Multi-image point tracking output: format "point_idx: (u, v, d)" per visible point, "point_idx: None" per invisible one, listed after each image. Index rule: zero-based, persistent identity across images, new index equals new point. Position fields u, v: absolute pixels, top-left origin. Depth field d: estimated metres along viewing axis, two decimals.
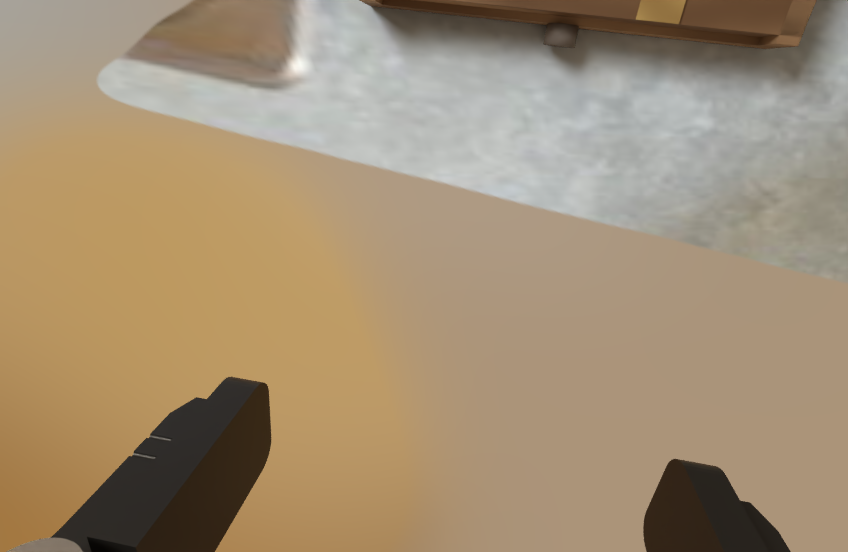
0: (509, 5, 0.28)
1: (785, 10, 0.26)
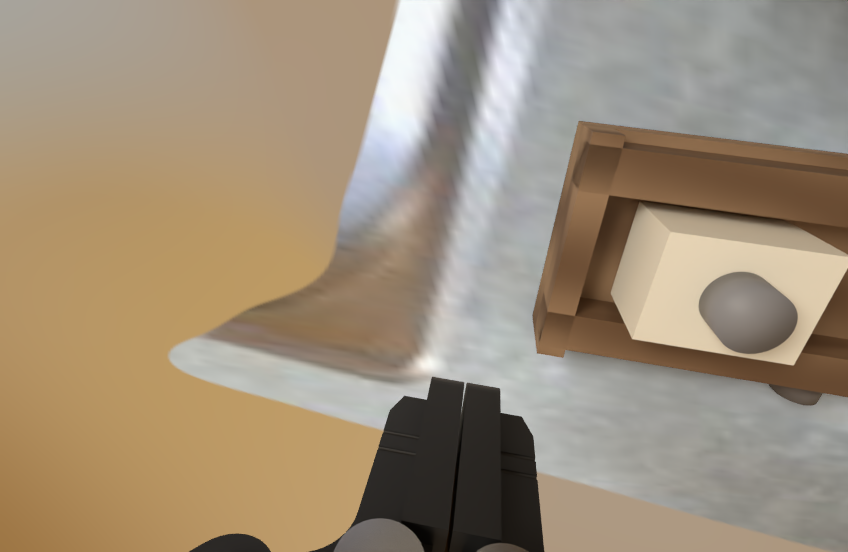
0: (753, 379, 0.20)
1: None
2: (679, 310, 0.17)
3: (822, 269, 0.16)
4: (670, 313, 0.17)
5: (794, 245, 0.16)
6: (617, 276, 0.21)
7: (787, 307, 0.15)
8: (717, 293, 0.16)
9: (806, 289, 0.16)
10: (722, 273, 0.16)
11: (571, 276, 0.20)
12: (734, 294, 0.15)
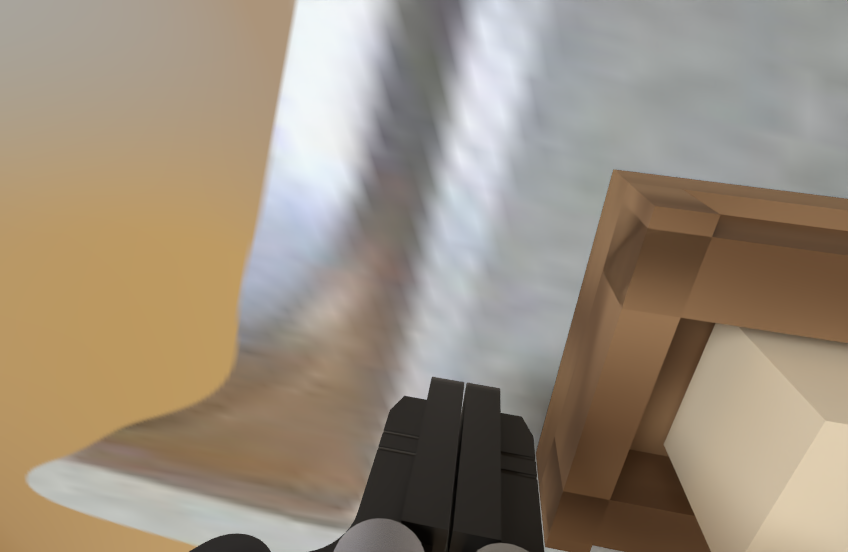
0: None
1: None
2: (824, 549, 0.09)
3: None
4: None
5: None
6: (677, 423, 0.13)
7: None
8: None
9: None
10: None
11: (605, 442, 0.11)
12: None
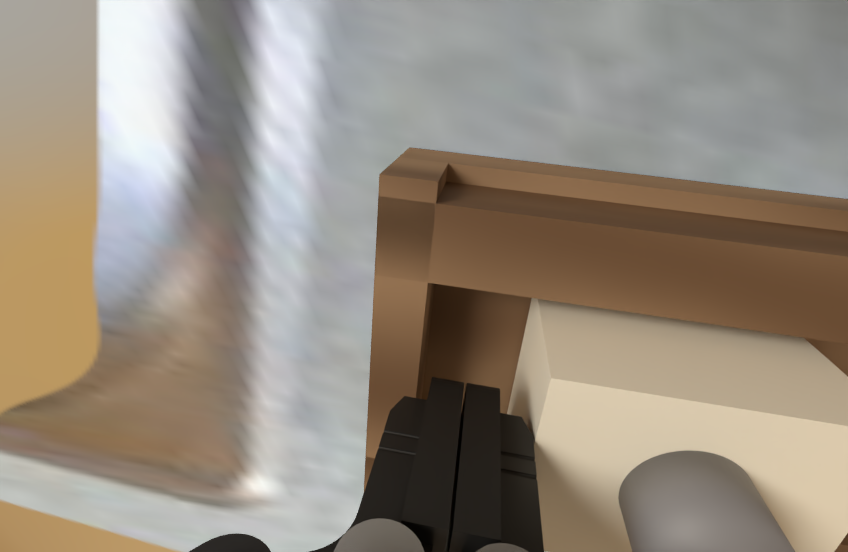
0: None
1: None
2: (585, 506, 0.09)
3: None
4: (568, 509, 0.09)
5: (795, 400, 0.08)
6: (511, 397, 0.13)
7: None
8: (645, 500, 0.08)
9: (821, 485, 0.08)
10: (657, 451, 0.09)
11: (391, 407, 0.12)
12: (673, 520, 0.07)
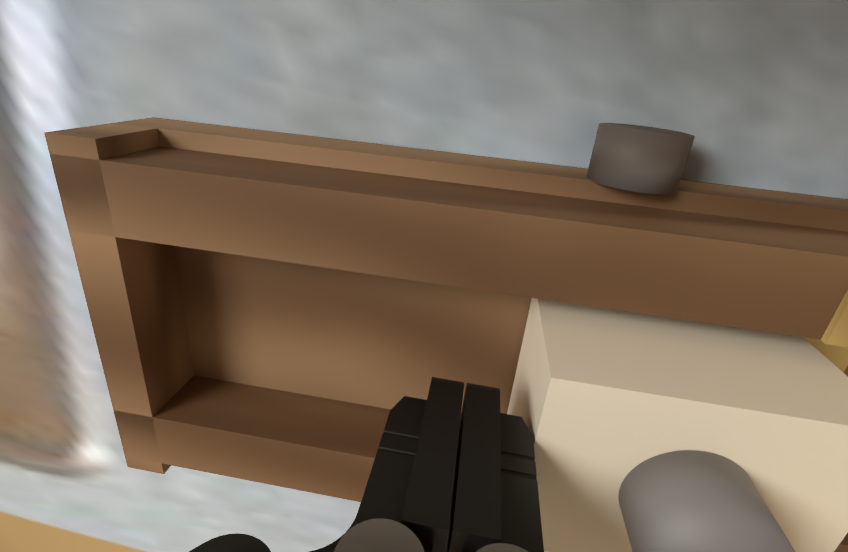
0: None
1: None
2: (585, 506, 0.09)
3: None
4: (568, 509, 0.09)
5: (795, 400, 0.08)
6: (511, 397, 0.13)
7: None
8: (645, 499, 0.08)
9: (820, 484, 0.08)
10: (657, 452, 0.09)
11: (121, 360, 0.12)
12: (673, 519, 0.07)
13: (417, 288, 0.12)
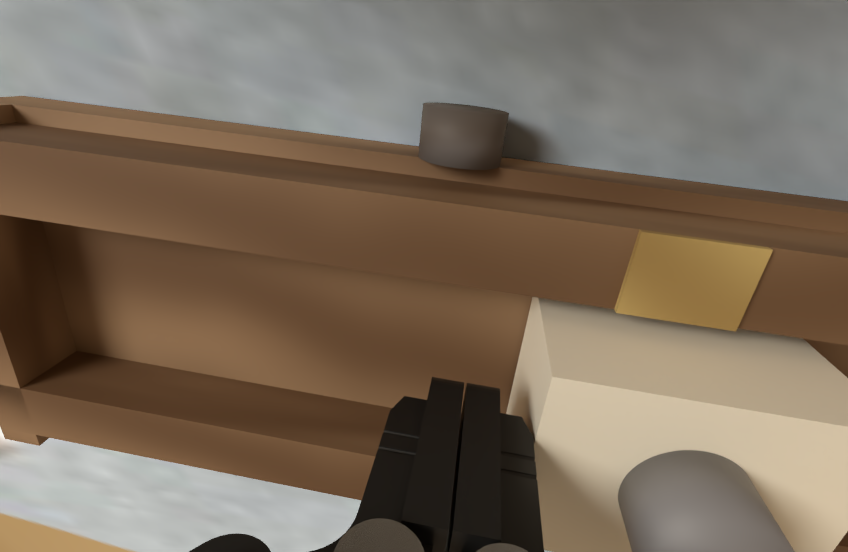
0: (290, 483, 0.14)
1: None
2: (585, 505, 0.09)
3: None
4: (568, 508, 0.09)
5: (795, 401, 0.08)
6: (511, 396, 0.13)
7: None
8: (645, 499, 0.08)
9: (820, 485, 0.08)
10: (657, 451, 0.09)
11: None
12: (673, 519, 0.07)
13: (272, 264, 0.13)
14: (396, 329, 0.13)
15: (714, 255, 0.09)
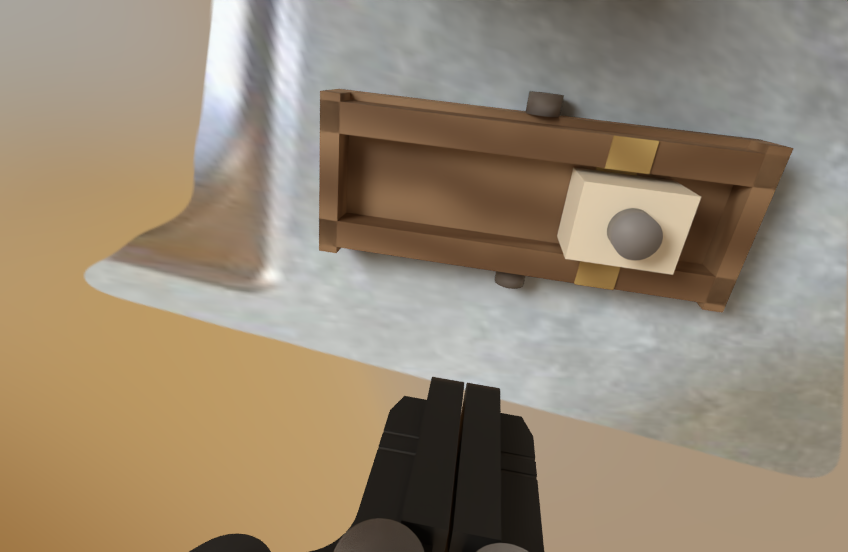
0: (459, 264, 0.30)
1: (709, 285, 0.28)
2: (595, 236, 0.26)
3: (683, 205, 0.24)
4: (588, 239, 0.26)
5: (666, 190, 0.25)
6: (560, 222, 0.29)
7: (655, 227, 0.23)
8: (615, 221, 0.24)
9: (674, 219, 0.25)
10: (620, 209, 0.25)
11: (328, 191, 0.29)
12: (623, 220, 0.24)
13: (455, 162, 0.29)
14: (508, 193, 0.29)
15: (639, 143, 0.25)
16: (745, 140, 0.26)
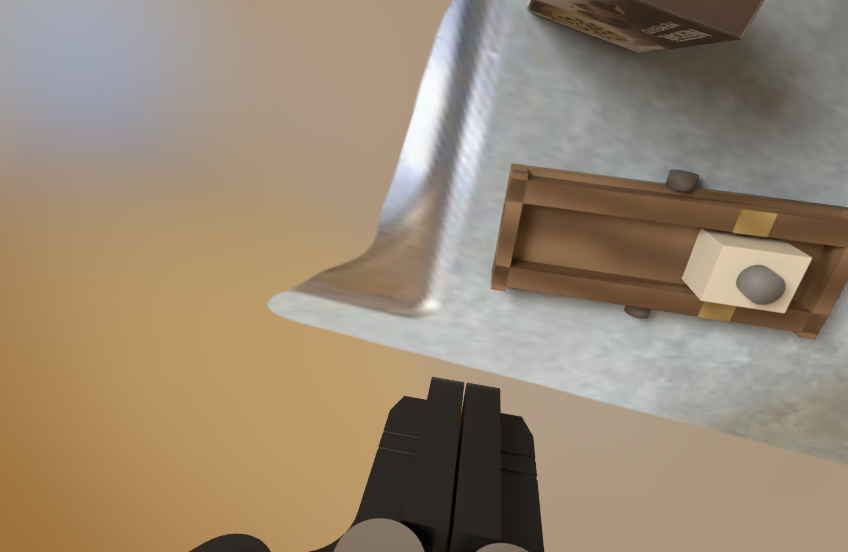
0: (605, 301, 0.38)
1: (806, 319, 0.36)
2: (726, 285, 0.34)
3: (797, 263, 0.33)
4: (721, 286, 0.34)
5: (784, 251, 0.33)
6: (686, 269, 0.38)
7: (780, 281, 0.32)
8: (746, 275, 0.33)
9: (790, 273, 0.33)
10: (748, 266, 0.33)
11: (506, 245, 0.37)
12: (755, 275, 0.32)
13: (605, 222, 0.37)
14: (645, 245, 0.38)
15: (762, 215, 0.33)
16: (838, 210, 0.35)
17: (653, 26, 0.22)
